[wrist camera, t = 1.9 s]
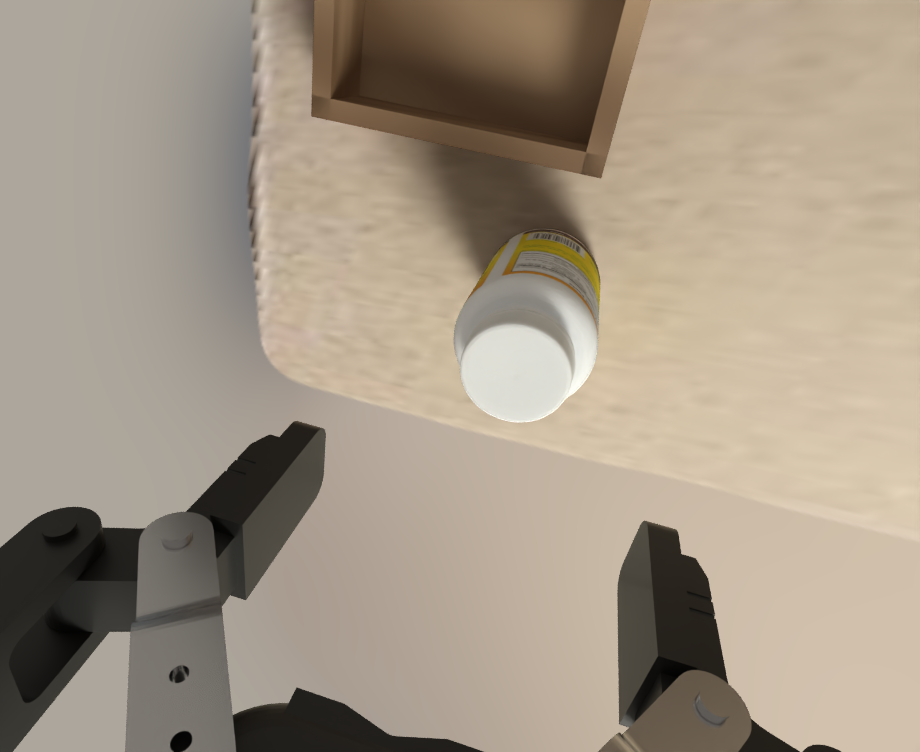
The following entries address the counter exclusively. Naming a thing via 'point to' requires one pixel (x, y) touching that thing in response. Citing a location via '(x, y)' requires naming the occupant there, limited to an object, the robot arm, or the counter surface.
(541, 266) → the supplement bottle
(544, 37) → the rack
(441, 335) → the counter surface
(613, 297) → the counter surface
